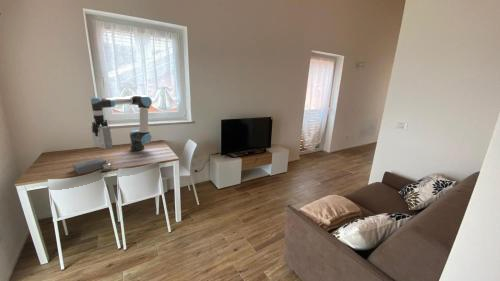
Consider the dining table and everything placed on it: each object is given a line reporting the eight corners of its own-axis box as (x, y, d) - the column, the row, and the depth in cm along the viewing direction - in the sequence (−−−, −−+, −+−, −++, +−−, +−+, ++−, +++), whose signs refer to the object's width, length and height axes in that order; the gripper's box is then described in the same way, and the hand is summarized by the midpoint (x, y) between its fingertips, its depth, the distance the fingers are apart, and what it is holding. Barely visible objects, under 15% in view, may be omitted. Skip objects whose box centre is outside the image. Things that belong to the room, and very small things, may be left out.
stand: (100, 162, 209) (99, 157, 207) (107, 166, 201) (106, 160, 200) (73, 170, 191) (72, 164, 190) (79, 174, 184) (78, 168, 182)
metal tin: (110, 167, 201) (109, 162, 199) (113, 168, 197) (113, 164, 196) (102, 169, 195) (101, 164, 194) (105, 171, 192) (104, 166, 190)
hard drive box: (113, 146, 203) (110, 126, 197) (105, 148, 196) (102, 128, 190) (101, 144, 208) (98, 124, 202) (94, 146, 201) (90, 126, 195)
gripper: (104, 113, 204) (108, 135, 210) (84, 116, 184) (88, 140, 191) (111, 113, 202) (114, 136, 209) (91, 116, 183) (95, 141, 189)
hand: (102, 138), depth 200 cm, fingers closed on hard drive box, 8 cm apart
